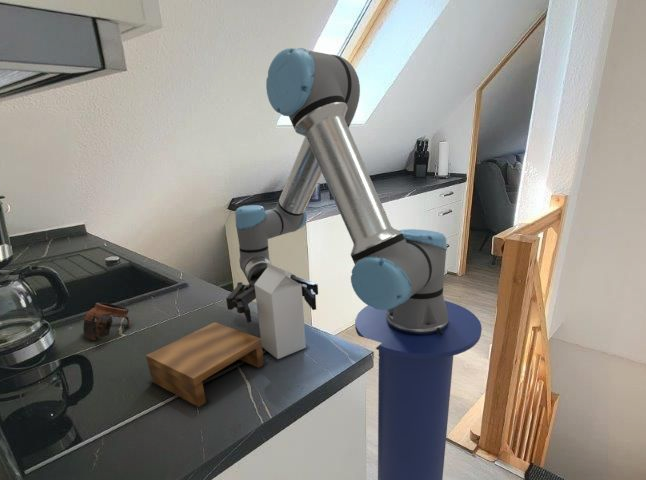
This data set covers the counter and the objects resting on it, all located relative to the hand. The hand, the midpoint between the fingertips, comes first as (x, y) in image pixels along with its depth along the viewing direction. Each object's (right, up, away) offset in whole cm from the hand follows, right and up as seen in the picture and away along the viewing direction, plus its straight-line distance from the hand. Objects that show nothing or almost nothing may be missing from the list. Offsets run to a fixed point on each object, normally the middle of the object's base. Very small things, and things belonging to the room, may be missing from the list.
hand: (282, 309), depth 83 cm
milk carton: (-1, -9, +6) cm, 11 cm away
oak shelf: (-14, -12, -2) cm, 19 cm away
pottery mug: (-44, -6, +15) cm, 47 cm away
